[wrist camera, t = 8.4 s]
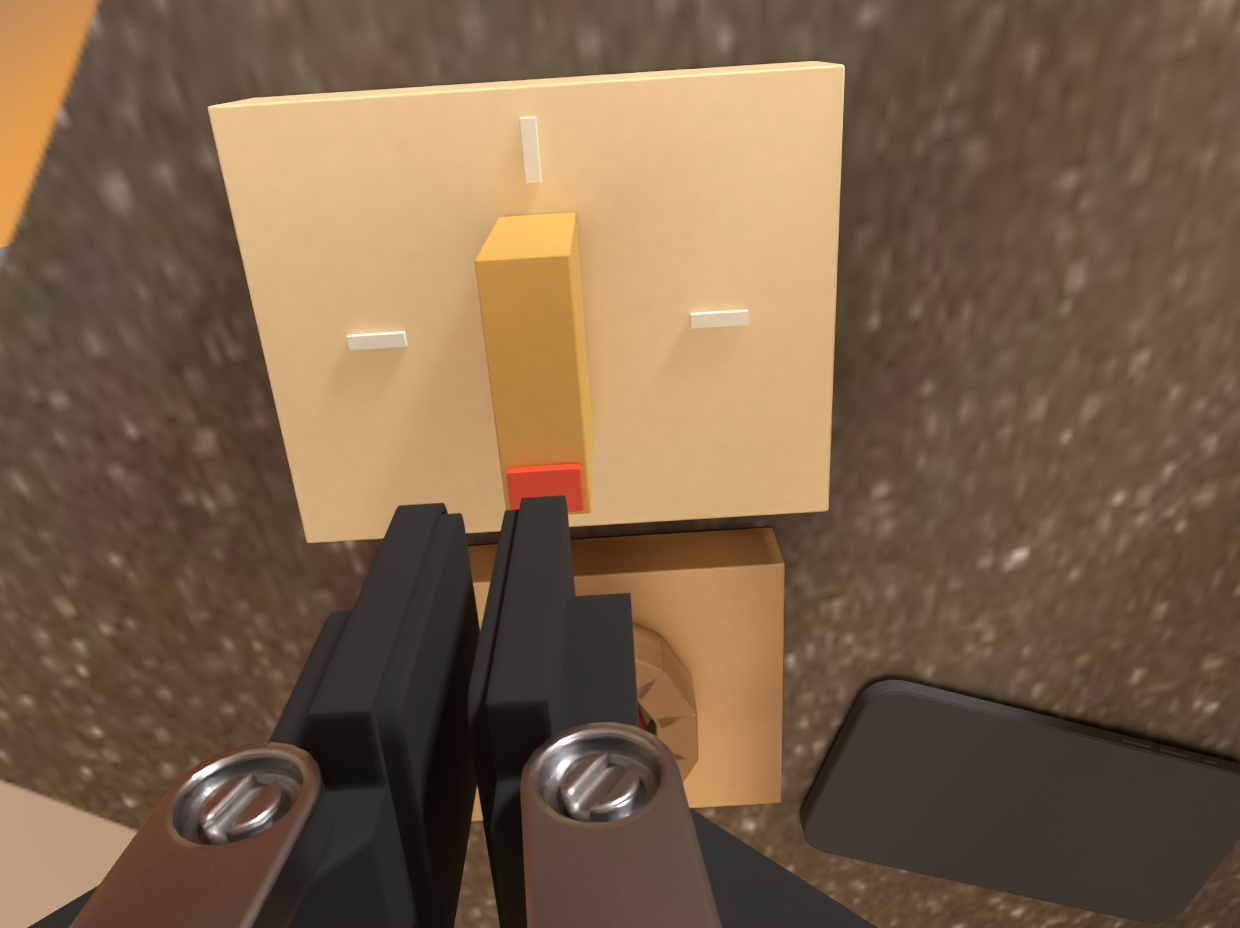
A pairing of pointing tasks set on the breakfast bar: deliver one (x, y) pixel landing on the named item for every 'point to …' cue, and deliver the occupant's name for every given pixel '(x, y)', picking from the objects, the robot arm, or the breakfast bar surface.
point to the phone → (1023, 803)
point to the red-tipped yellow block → (537, 358)
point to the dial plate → (610, 276)
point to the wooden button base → (695, 649)
